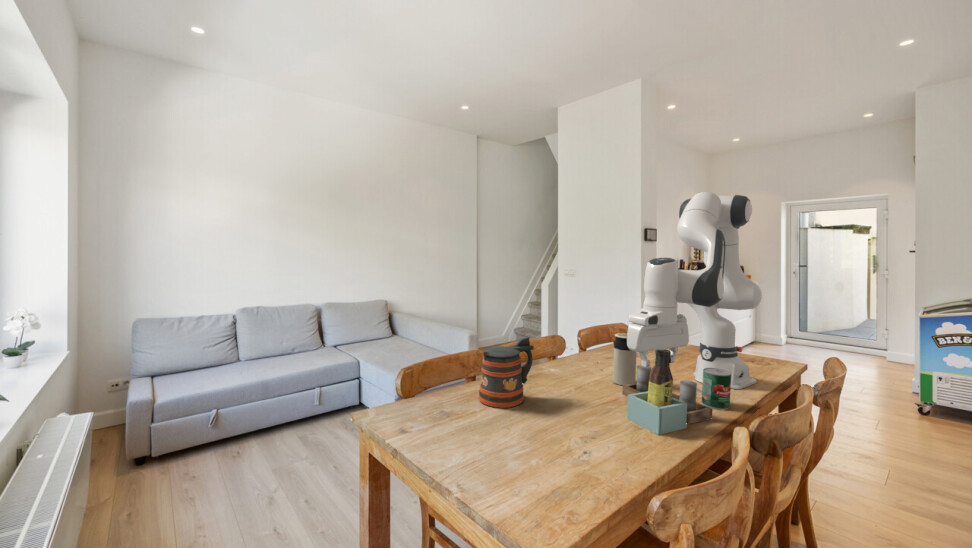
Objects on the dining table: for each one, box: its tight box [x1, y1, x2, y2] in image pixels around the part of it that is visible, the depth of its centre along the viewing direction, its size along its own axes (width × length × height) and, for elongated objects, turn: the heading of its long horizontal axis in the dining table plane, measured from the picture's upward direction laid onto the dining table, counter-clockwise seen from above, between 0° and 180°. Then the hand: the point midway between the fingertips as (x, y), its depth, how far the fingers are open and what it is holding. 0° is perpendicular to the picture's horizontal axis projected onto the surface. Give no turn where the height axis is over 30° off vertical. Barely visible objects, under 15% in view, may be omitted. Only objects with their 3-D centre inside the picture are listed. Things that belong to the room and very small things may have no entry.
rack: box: [622, 364, 713, 425], centre depth 127 cm, size 10×26×10 cm, turn 24°
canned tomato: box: [701, 368, 732, 411], centre depth 128 cm, size 8×8×11 cm
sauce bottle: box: [647, 349, 674, 407], centre depth 114 cm, size 6×6×20 cm
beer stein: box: [478, 336, 535, 409], centre depth 131 cm, size 19×15×20 cm
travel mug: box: [612, 332, 637, 387], centre depth 148 cm, size 8×8×18 cm
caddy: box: [626, 391, 687, 436], centre depth 114 cm, size 10×12×7 cm
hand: (657, 364), depth 113 cm, fingers open, 8 cm apart
